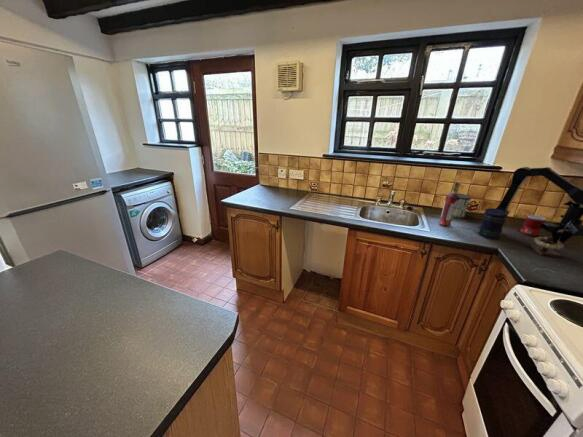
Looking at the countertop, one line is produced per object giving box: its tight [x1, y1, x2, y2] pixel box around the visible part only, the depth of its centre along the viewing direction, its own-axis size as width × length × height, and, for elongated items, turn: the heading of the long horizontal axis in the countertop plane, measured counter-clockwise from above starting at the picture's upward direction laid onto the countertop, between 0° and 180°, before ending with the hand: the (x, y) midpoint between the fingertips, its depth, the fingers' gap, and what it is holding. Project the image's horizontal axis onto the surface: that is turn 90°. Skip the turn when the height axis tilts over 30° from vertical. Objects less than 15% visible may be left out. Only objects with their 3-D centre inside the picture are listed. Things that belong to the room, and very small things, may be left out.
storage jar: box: [478, 207, 507, 240], centre depth 138 cm, size 10×10×15 cm
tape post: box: [527, 236, 562, 258], centre depth 125 cm, size 9×9×8 cm
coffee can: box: [453, 192, 472, 218], centre depth 167 cm, size 10×10×14 cm
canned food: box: [520, 214, 547, 237], centre depth 144 cm, size 8×8×11 cm
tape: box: [533, 236, 565, 251], centre depth 125 cm, size 11×11×2 cm
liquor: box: [438, 181, 461, 227], centre depth 148 cm, size 7×7×28 cm
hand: (557, 243), depth 124 cm, fingers closed on tape, 2 cm apart
